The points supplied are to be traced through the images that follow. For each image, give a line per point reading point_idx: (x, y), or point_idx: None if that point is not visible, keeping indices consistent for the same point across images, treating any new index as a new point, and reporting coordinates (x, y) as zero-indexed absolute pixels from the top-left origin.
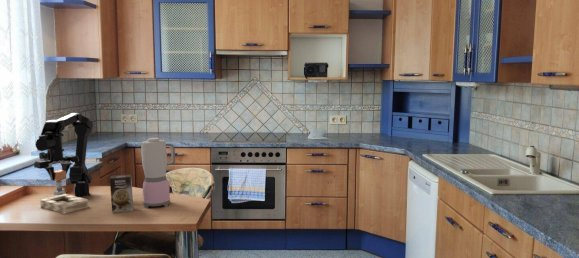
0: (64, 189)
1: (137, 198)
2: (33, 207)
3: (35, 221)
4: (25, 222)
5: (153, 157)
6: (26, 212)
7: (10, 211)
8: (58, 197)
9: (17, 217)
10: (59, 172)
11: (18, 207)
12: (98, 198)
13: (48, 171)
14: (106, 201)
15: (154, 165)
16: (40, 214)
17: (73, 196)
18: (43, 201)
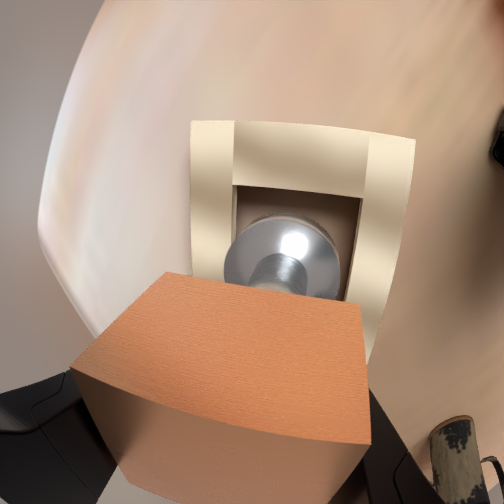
0: (336, 287)
1: (486, 435)
2: (183, 89)
3: (101, 324)
4: (76, 298)
5: None
6: (116, 160)
7: (90, 67)
8: (315, 190)
9: (70, 204)
10: (195, 500)
11: (143, 18)
12: (491, 312)
13: (35, 412)
14: (446, 386)
15: None
16: (142, 265)
17: (380, 291)
18: (192, 169)
